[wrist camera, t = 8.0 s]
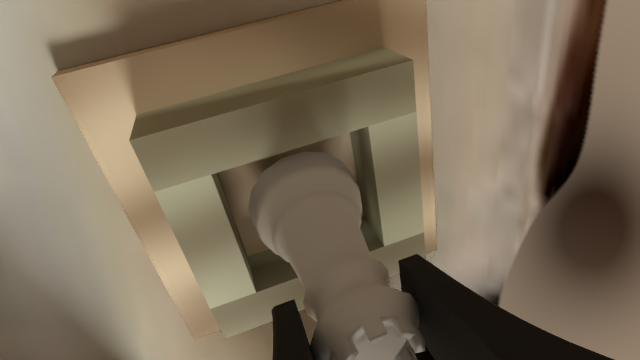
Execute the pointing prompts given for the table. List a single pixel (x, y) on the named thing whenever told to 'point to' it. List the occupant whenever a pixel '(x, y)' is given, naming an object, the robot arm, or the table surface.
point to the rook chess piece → (333, 260)
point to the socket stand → (262, 144)
